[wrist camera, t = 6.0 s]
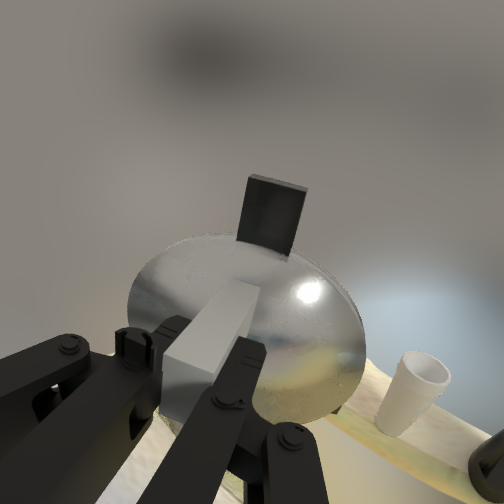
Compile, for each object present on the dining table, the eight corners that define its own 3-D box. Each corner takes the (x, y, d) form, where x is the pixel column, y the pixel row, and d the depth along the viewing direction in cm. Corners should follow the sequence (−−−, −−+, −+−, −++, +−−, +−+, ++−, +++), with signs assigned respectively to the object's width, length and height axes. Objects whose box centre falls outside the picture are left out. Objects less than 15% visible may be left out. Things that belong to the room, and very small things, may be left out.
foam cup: (363, 403, 45) (395, 346, 41) (403, 407, 45) (438, 354, 41) (371, 442, 36) (414, 383, 32) (416, 443, 36) (459, 387, 32)
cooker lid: (311, 437, 24) (310, 447, 23) (141, 378, 27) (135, 386, 26) (433, 228, 14) (439, 236, 13) (139, 149, 17) (128, 152, 16)
